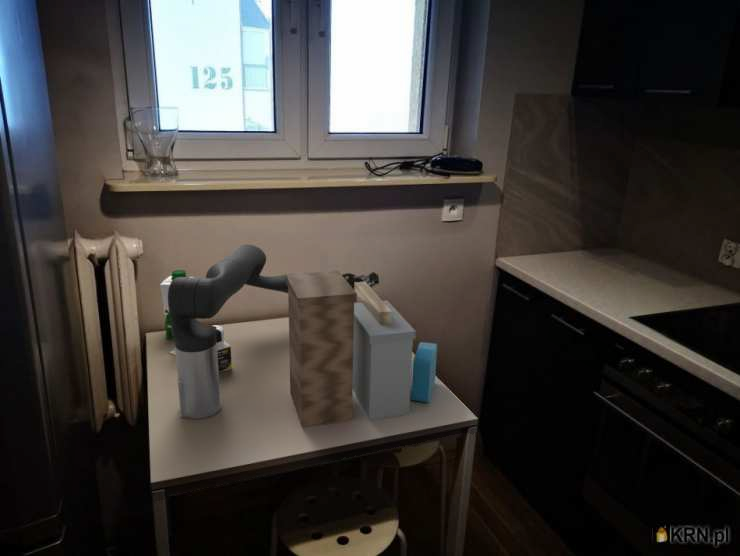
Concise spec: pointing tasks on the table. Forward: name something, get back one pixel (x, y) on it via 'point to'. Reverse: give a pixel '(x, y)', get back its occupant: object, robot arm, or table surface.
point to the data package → (424, 372)
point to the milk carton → (164, 289)
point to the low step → (382, 363)
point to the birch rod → (372, 303)
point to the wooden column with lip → (321, 346)
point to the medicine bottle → (222, 349)
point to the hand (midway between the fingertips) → (359, 276)
